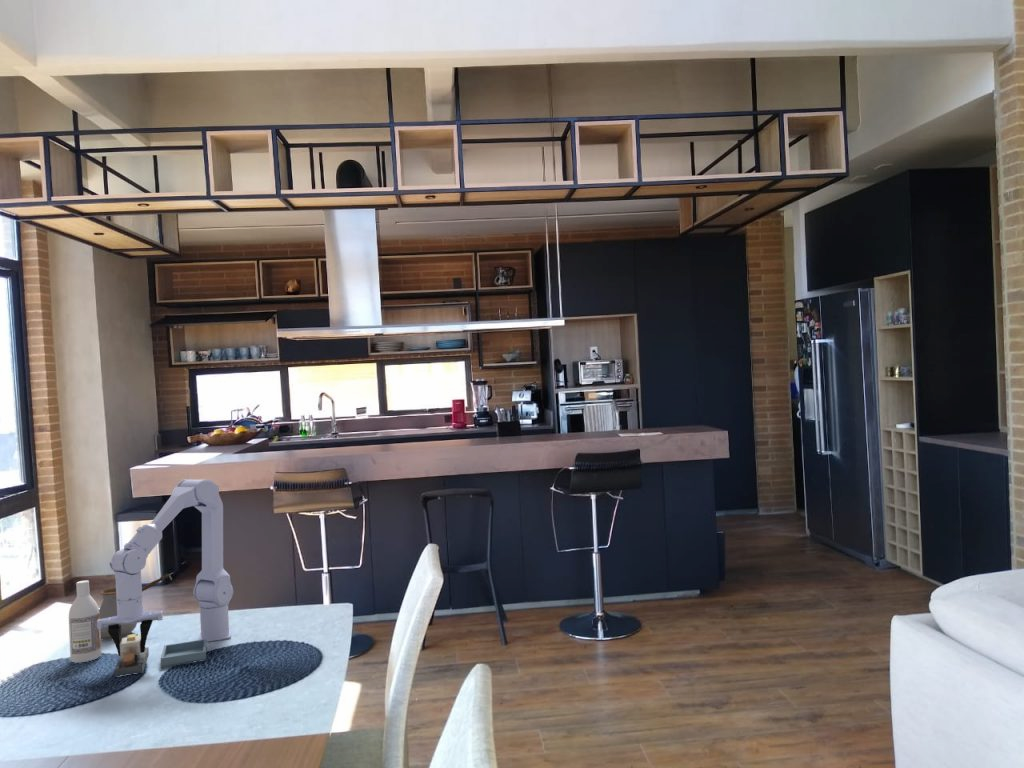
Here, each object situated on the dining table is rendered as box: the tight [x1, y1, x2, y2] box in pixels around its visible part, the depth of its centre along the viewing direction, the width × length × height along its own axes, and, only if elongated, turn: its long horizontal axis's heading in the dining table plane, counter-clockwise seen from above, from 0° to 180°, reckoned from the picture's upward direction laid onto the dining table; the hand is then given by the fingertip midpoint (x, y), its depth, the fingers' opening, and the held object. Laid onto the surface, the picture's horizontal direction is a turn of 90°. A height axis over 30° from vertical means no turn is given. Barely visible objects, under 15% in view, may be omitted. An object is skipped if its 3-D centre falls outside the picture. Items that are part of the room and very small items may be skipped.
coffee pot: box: [99, 573, 173, 641], centre depth 220 cm, size 21×12×15 cm, turn 125°
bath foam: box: [68, 579, 102, 663], centre depth 198 cm, size 7×7×20 cm
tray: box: [160, 639, 208, 669], centre depth 194 cm, size 11×10×2 cm
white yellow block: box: [119, 633, 141, 658], centre depth 190 cm, size 6×4×4 cm
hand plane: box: [113, 633, 150, 677], centre depth 190 cm, size 15×6×6 cm, turn 20°
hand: (131, 653), depth 190 cm, fingers closed on white yellow block, 4 cm apart
